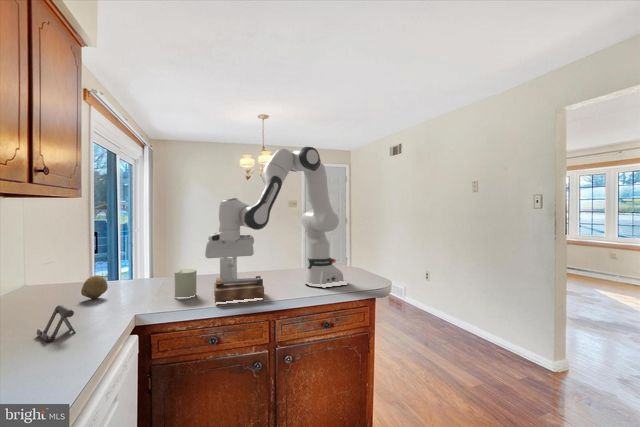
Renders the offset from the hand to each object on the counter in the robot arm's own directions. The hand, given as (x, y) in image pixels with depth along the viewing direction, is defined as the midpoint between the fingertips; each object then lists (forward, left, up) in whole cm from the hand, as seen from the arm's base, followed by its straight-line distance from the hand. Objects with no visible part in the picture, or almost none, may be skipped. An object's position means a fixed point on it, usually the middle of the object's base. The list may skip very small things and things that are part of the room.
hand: (230, 267), depth 136 cm
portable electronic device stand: (+53, +22, -14) cm, 59 cm away
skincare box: (-1, -19, -14) cm, 24 cm away
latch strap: (-4, 0, -7) cm, 8 cm away
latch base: (-4, 0, -14) cm, 15 cm away
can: (+18, -10, -14) cm, 25 cm away
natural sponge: (+54, -18, -14) cm, 59 cm away
